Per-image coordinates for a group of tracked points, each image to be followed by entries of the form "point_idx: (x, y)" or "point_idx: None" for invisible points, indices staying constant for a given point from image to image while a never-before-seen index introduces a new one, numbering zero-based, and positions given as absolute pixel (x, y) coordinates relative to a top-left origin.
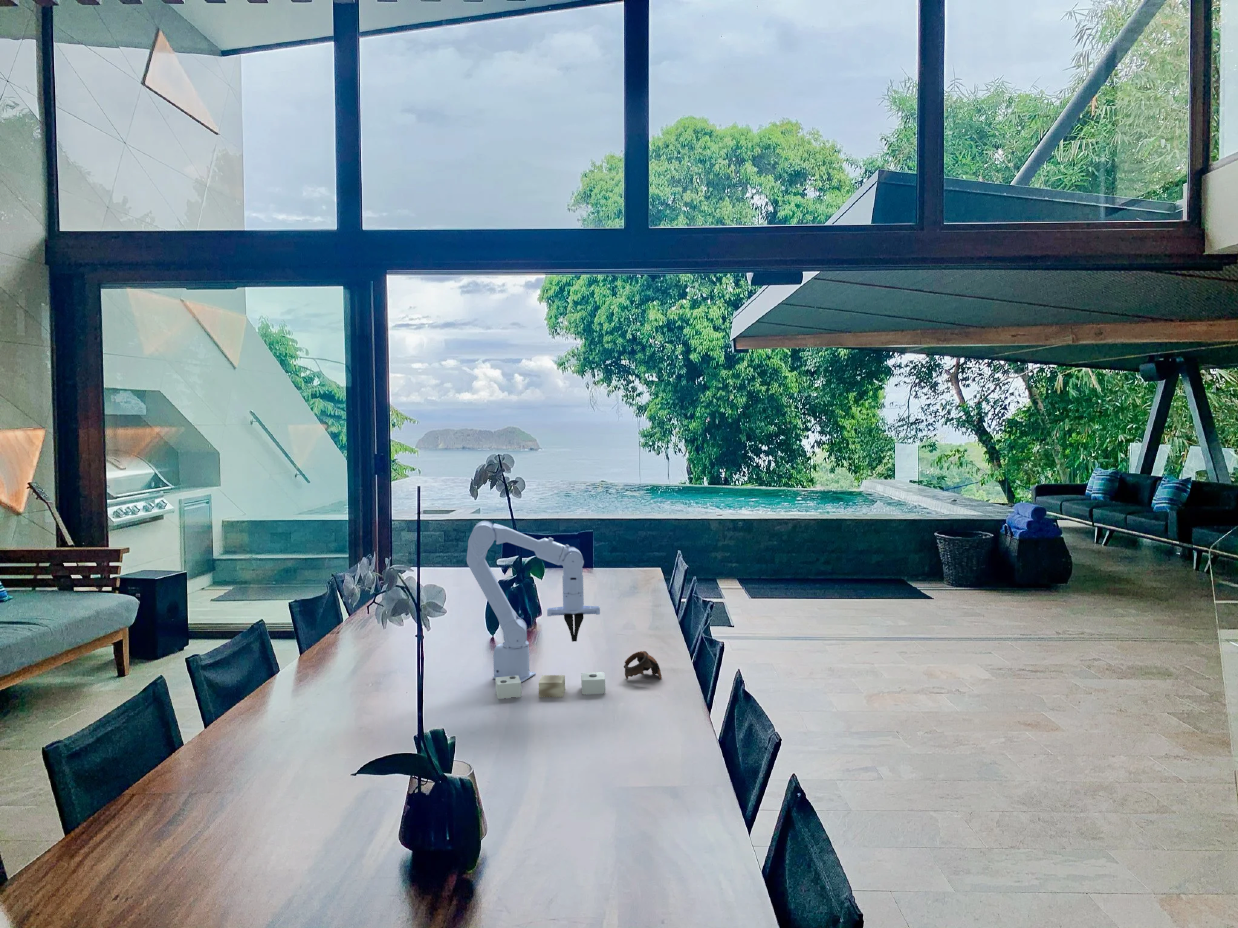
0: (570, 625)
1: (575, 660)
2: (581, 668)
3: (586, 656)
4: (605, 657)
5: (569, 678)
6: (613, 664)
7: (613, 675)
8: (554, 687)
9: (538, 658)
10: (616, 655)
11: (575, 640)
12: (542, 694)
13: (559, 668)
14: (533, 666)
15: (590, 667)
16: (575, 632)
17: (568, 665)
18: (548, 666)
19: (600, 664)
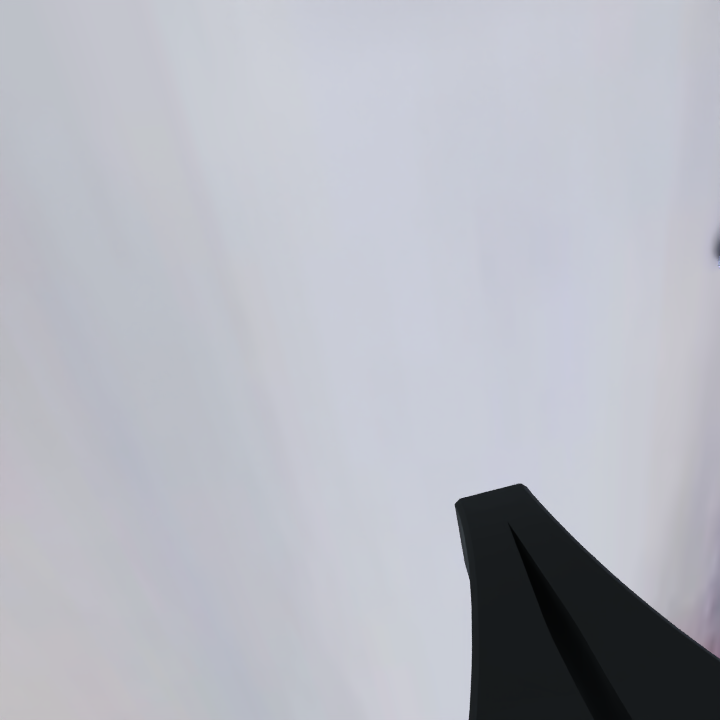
0: (703, 706)
1: (438, 559)
2: (372, 433)
3: (381, 623)
4: (258, 630)
5: (432, 187)
6: (159, 537)
7: (53, 313)
8: None
9: (665, 551)
10: (199, 666)
11: (477, 502)
12: None
13: (532, 411)
14: (709, 422)
15: (309, 461)
16: (520, 597)
17: (474, 474)
18: (609, 437)
19: (253, 523)
